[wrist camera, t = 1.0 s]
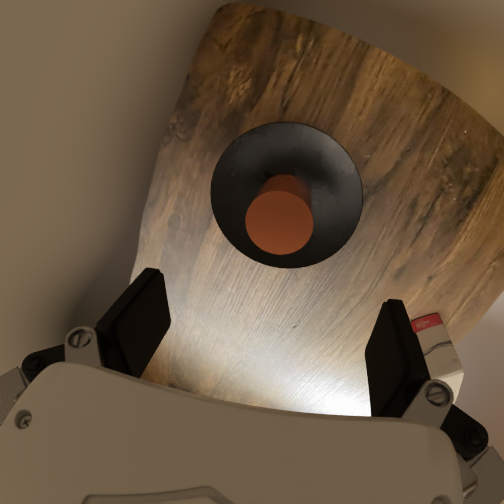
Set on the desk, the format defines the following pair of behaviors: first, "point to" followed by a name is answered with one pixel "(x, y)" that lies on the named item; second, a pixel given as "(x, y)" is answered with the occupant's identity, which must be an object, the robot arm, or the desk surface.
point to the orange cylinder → (281, 215)
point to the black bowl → (294, 163)
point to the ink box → (439, 351)
